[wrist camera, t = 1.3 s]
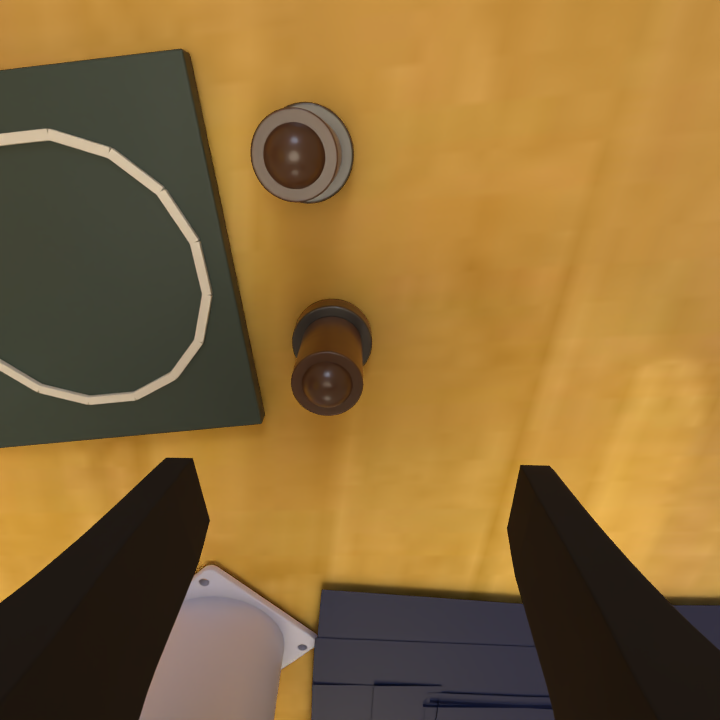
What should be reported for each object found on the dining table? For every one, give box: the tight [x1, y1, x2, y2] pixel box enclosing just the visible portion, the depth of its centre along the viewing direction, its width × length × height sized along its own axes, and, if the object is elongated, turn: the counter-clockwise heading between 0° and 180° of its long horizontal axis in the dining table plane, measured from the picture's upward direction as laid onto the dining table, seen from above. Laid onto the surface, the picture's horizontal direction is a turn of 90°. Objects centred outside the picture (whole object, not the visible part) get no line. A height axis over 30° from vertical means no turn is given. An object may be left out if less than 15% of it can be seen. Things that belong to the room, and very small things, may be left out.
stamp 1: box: [251, 102, 354, 204], centre depth 15 cm, size 3×3×5 cm
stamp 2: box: [291, 299, 372, 416], centre depth 18 cm, size 3×3×5 cm
